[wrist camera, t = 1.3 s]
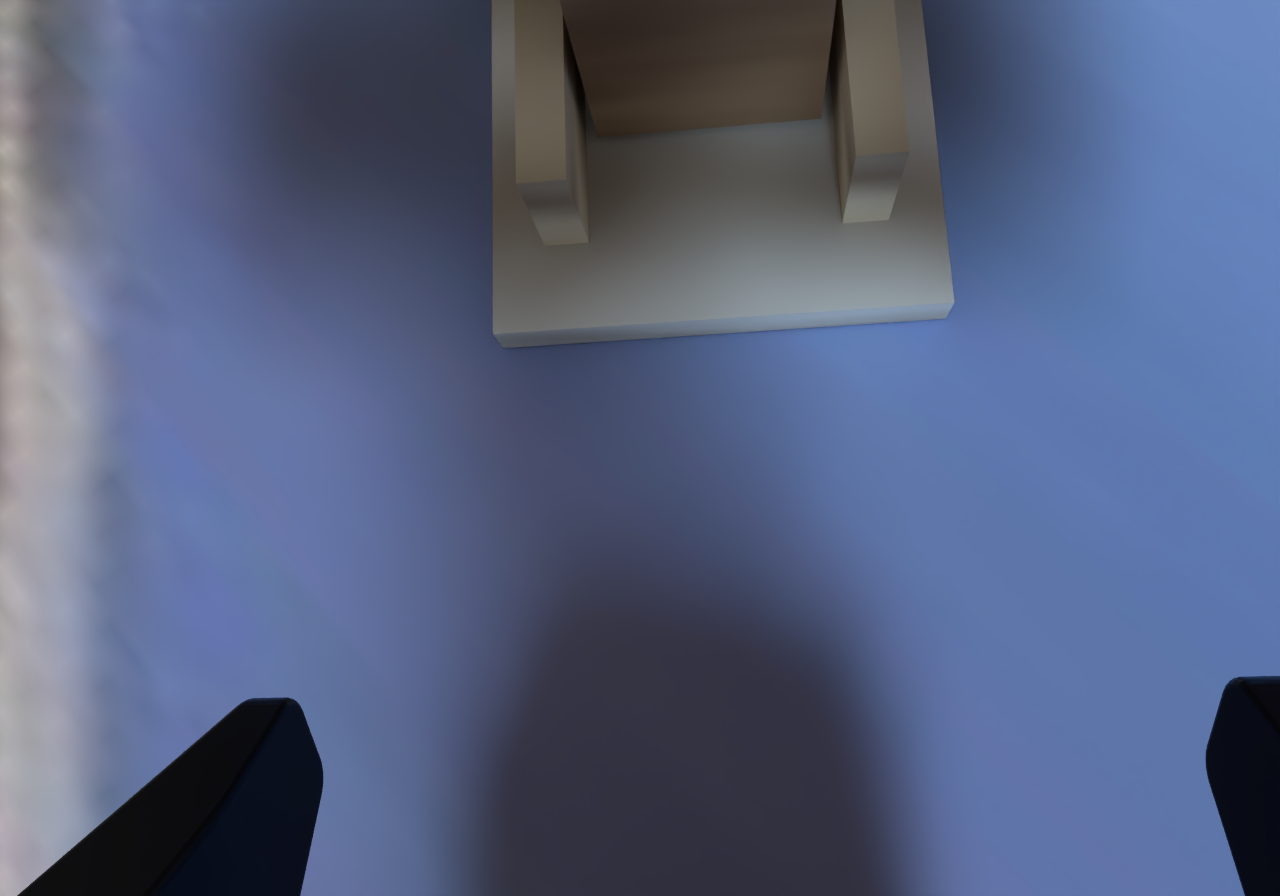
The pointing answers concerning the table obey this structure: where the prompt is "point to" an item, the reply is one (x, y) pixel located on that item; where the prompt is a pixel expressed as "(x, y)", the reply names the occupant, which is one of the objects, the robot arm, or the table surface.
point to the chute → (715, 198)
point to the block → (700, 61)
